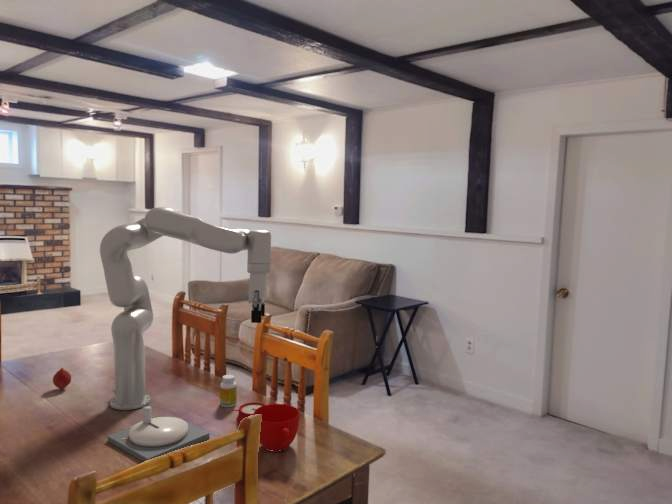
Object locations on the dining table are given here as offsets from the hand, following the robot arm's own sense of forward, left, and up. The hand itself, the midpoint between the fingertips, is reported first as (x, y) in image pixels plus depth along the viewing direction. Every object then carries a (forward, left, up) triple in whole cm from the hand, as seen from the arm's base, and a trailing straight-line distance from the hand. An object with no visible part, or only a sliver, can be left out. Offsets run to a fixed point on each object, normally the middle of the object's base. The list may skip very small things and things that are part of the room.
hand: (258, 319), depth 174 cm
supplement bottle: (-8, -5, -30) cm, 32 cm away
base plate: (-3, -35, -30) cm, 46 cm away
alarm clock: (+9, -8, -30) cm, 33 cm away
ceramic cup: (+27, -17, -30) cm, 44 cm away
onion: (-62, -35, -30) cm, 78 cm away
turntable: (-3, -35, -28) cm, 45 cm away
